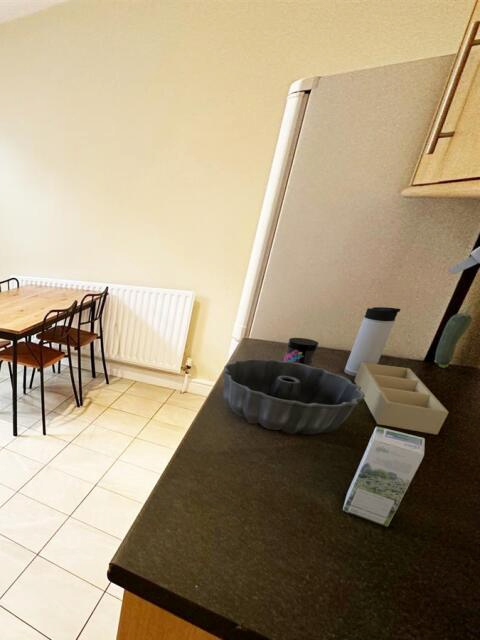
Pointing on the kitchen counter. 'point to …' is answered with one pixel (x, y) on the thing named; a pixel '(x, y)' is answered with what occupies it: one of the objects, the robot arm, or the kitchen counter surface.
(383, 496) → the syrup box
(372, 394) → the organiser
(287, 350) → the supplement container
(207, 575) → the kitchen counter surface
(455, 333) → the vegetable
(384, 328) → the travel mug
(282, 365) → the bundt pan
